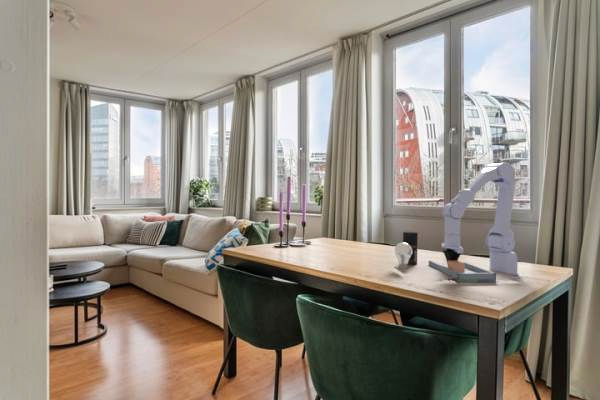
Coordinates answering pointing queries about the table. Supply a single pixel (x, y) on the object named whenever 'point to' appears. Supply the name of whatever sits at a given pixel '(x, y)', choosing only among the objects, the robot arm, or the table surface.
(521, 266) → the table surface
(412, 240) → the dark brown rectangular block
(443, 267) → the trap box
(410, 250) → the light bulb
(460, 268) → the block
